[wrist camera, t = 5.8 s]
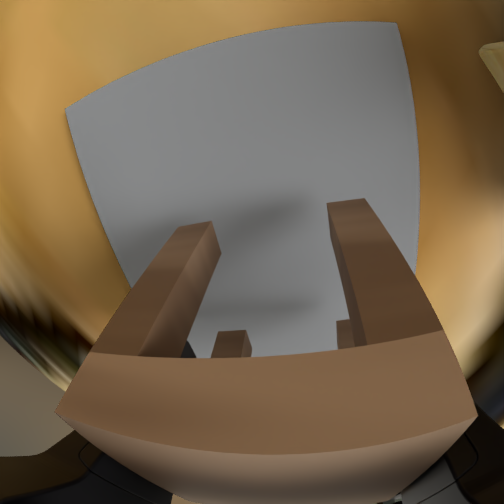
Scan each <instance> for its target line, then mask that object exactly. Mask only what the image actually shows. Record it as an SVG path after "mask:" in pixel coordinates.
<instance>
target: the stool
mask: <svg viewBox="0 0 504 504" xmlns="http://www.w3.org/2000/svg"><path fill="white" fill-rule="evenodd" d="M326 204H327V212H328V221H329V230H330V239H331V242H332V246H333V250H334V254H335V258H336V262H337V266H338V270H339V274H340V278H341V282H342V287H343V291H344V295H345V300H346V304H347V309H348V314H349V319H346V320H338V321H336V330H337V346H338V350H330V351H322V352H312V353H302V354H291V355H278V356H263V357H251V355H252V346H251V343H250V340H249V337H248V334H247V331H246V330H234V331H218V333H217V337H216V340H215V344H214V347H213V351H212V354H211V358H180V357H181V354H182V351H183V349H184V346H185V343H186V341H187V338H188V336H189V333H190V331H191V328H192V325H193V323H194V320H195V318H196V315H197V313H198V310H199V308H200V305H201V303H202V300H203V298H204V295H205V293H206V290H207V288H208V285H209V283H210V280H211V278H212V275H213V273H214V270H215V268H216V265H217V263H218V261H219V258H220V256H221V250H220V246H219V243H218V240H217V237H216V233H215V230H214V227H213V223H212V221H207V222H202V223H196V224H191V225H185V226H180V227H178V228H177V229H176V230H175V232H174V233H173V234H172V235H171V237H170V238H169V239H168V241H167V242H166V243H165V244H164V246H163V247H162V248H161V250H160V251H159V252H158V254H157V255H156V256H155V258H154V259H153V260H152V262H151V263H150V264H149V266H148V267H147V268H146V270H145V271H144V272H143V274H142V275H141V277H140V278H139V279H138V281H137V282H136V283H135V285H134V286H133V288H132V289H131V291H130V292H129V293H128V295H127V296H126V298H125V299H124V300H123V302H122V303H121V305H120V306H119V308H118V309H117V311H116V312H115V314H114V315H113V317H112V318H111V320H110V321H109V323H108V324H107V326H106V327H105V329H104V330H103V332H102V333H101V335H100V336H99V338H98V339H97V341H96V342H95V344H94V346H93V347H92V349H91V350H90V352H89V354H88V355H87V357H86V358H85V360H84V362H83V363H82V365H81V367H80V368H79V370H78V372H77V373H76V375H75V377H74V378H73V380H72V382H71V383H70V385H69V387H68V389H67V390H66V392H65V394H64V396H63V397H62V399H61V401H60V403H59V405H58V407H57V408H56V410H55V413H56V414H57V415H58V416H59V417H60V418H62V419H63V420H64V421H65V422H66V423H67V424H68V425H70V426H71V427H72V428H73V429H74V430H76V431H77V432H78V433H79V434H80V435H82V436H83V437H84V438H85V439H87V440H88V441H89V442H91V443H92V444H93V445H95V446H96V447H97V448H99V449H100V450H101V451H103V452H104V453H106V454H107V455H108V456H110V457H111V458H113V459H114V460H116V461H117V462H119V463H120V464H122V465H123V466H125V467H127V468H128V469H130V470H131V471H133V472H135V473H136V474H138V475H140V476H141V477H143V478H145V479H146V480H148V481H150V482H152V483H154V484H155V485H157V486H159V487H161V488H163V489H165V490H167V491H169V492H171V493H173V494H175V495H177V496H179V497H181V498H183V499H185V500H188V501H191V502H196V503H202V504H373V503H379V502H384V501H388V500H390V499H391V498H393V497H394V496H395V495H397V494H398V493H399V492H401V491H402V490H403V489H404V488H406V487H407V486H408V485H409V484H411V483H412V482H413V481H414V480H415V479H417V478H418V477H419V476H420V475H421V474H422V473H424V472H425V471H426V470H427V469H428V468H429V467H430V466H431V465H432V464H434V463H435V462H436V461H437V460H438V459H439V458H440V457H441V456H442V455H443V454H444V453H445V452H446V451H447V450H448V449H449V448H450V447H451V446H452V445H453V444H454V443H455V442H456V441H457V439H458V438H459V437H460V436H461V435H462V434H463V433H464V432H465V431H466V429H467V428H468V427H469V426H470V425H471V424H472V422H473V421H474V420H475V419H476V418H477V416H478V414H477V411H476V408H475V405H474V402H473V399H472V397H471V394H470V391H469V388H468V386H467V383H466V380H465V378H464V375H463V373H462V370H461V368H460V365H459V363H458V361H457V358H456V356H455V354H454V351H453V349H452V347H451V345H450V342H449V340H448V338H447V336H446V334H445V332H444V330H443V328H442V325H441V323H440V321H439V319H438V317H437V315H436V313H435V311H434V310H433V308H432V306H431V304H430V302H429V300H428V298H427V296H426V294H425V293H424V291H423V289H422V287H421V285H420V284H419V282H418V280H417V278H416V276H415V275H414V273H413V271H412V270H411V268H410V266H409V265H408V263H407V261H406V260H405V258H404V256H403V255H402V253H401V251H400V250H399V248H398V247H397V245H396V243H395V242H394V240H393V239H392V237H391V236H390V234H389V233H388V231H387V230H386V228H385V227H384V225H383V224H382V222H381V221H380V219H379V218H378V216H377V215H376V213H375V212H374V211H373V209H372V208H371V206H370V205H369V203H368V202H367V201H366V199H365V198H361V199H352V200H345V201H337V202H329V203H326Z"/></svg>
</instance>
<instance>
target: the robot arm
mask: <svg viewBox="0 0 504 504" xmlns="http://www.w3.org/2000/svg"><path fill="white" fill-rule="evenodd" d="M180 358H196V355H195V353H194V351H193V349H192V347H191V345H190V344H189V342H188V341H186V343H185V346H184V349H183V351H182V354H181V357H180ZM473 402H474V401H473ZM474 405H475V408H476V411H477V414H478V416H477V418H476V419H475V420H474V421H473V422H472V424H471V425H470V426H469V427H468V428H467V429H466V431H465V432H464V433H463V434H462V435H461V436H460V437H459V438H458V439H457V441H456V442H455V443H454V444H453V445H452V446H451V447H450V448H449V449H448V450H447V451H446V452H445V453H444V454H443V455H442V456H441V457H440V458H439V459H438V460H437V461H436V462H435V463H434V464H432V465H431V466H430V467H429V468H428V469H427V470H426V471H425V472H424V473H422V474H421V475H420V476H419V477H418V478H417V479H415V480H414V481H413V482H412V483H411V484H409V485H408V486H407V487H406V488H404V489H403V490H402V491H401V492H399V493H398V494H397V495H395V496H394V497H393V498H391V499H390V500H388V501H384V502H379V503H377V504H504V429H503V428H502V427H500V426H499V425H498V424H497V423H496V422H495V421H494V420H492V419H491V418H490V417H489V416H488V415H487V414H486V413H485V412H484V411H483V410H482V409H481V408H480V407H479V406H478V405H477V404H476V403H475V402H474ZM172 495H173V493H171V492H169V491H167V490H165V489H163V488H161V487H159V486H157V485H155V484H154V483H152V482H150V481H148V480H146V479H145V478H143V477H141V476H140V475H138V474H136V473H135V472H133V471H131V470H130V469H128V468H127V467H125V466H123V465H122V464H120V463H119V462H117V461H116V460H114V459H113V458H111V457H110V456H108V455H107V454H106V453H104V452H103V451H101V450H100V449H99V448H97V447H96V446H95V445H93V444H92V443H91V442H89V441H88V440H87V439H85V438H84V437H83V436H82V435H80V434H79V433H78V432H77V431H76V430H74V431H72V432H71V433H70V434H69V435H67V436H66V437H64V438H63V439H62V440H60V441H59V442H57V443H56V444H55V445H54V446H52V447H51V448H49V449H48V450H46V451H45V452H42V453H40V454H38V455H32V456H14V457H0V504H171V500H172ZM399 498H402V501H398V502H395V500H396V499H399Z"/></svg>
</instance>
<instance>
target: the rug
mask: <svg viewBox="0 0 504 504" xmlns="http://www.w3.org/2000/svg"><path fill="white" fill-rule="evenodd" d="M65 112H66V116H67V120H68V124H69V128H70V131H71V135H72V139H73V142H74V145H75V149H76V152H77V155H78V159H79V162H80V165H81V168H82V171H83V174H84V177H85V180H86V183H87V186H88V189H89V191H90V194H91V197H92V200H93V202H94V205H95V208H96V210H97V213H98V215H99V218H100V220H101V223H102V225H103V228H104V230H105V232H106V235H107V237H108V239H109V242H110V244H111V246H112V249H113V251H114V253H115V255H116V257H117V260H118V262H119V264H120V266H121V268H122V270H123V272H124V274H125V277H126V279H127V281H128V283H129V285H130V287H131V289H132V288H133V286H134V285H135V283H136V282H137V281H138V279H139V278H140V277H141V275H142V274H143V272H144V271H145V270H146V268H147V267H148V266H149V264H150V263H151V262H152V260H153V259H154V258H155V256H156V255H157V254H158V252H159V251H160V250H161V248H162V247H163V246H164V244H165V243H166V242H167V241H168V239H169V238H170V237H171V235H172V234H173V233H174V232H175V230H176V229H177V228H178V227H180V226H185V225H191V224H196V223H202V222H207V221H212V223H213V227H214V230H215V233H216V237H217V240H218V243H219V246H220V250H221V256H220V258H219V261H218V263H217V265H216V268H215V270H214V273H213V275H212V278H211V280H210V283H209V285H208V288H207V290H206V293H205V295H204V298H203V300H202V303H201V305H200V308H199V310H198V313H197V315H196V318H195V320H194V323H193V325H192V328H191V331H190V333H189V336H188V338H187V341H188V342H189V344H190V345H191V347H192V349H193V351H194V353H195V355H196V358H211V354H212V351H213V347H214V344H215V340H216V337H217V333H218V331H234V330H246V331H247V334H248V337H249V340H250V343H251V346H252V355H251V357H263V356H278V355H291V354H302V353H312V352H322V351H330V350H338V346H337V330H336V321H338V320H346V319H349V314H348V309H347V304H346V300H345V295H344V291H343V287H342V282H341V278H340V274H339V270H338V266H337V262H336V258H335V254H334V250H333V246H332V242H331V239H330V230H329V221H328V212H327V204H326V203H329V202H337V201H345V200H352V199H361V198H365V199H366V201H367V202H368V203H369V205H370V206H371V208H372V209H373V211H374V212H375V213H376V215H377V216H378V218H379V219H380V221H381V222H382V224H383V225H384V227H385V228H386V230H387V231H388V233H389V234H390V236H391V237H392V239H393V240H394V242H395V243H396V245H397V247H398V248H399V250H400V251H401V253H402V255H403V256H404V258H405V260H406V261H407V263H408V265H409V266H410V268H411V270H412V271H413V273H414V275H415V271H416V261H417V250H418V236H419V215H420V172H419V151H418V137H417V127H416V117H415V109H414V102H413V95H412V89H411V83H410V77H409V72H408V67H407V62H406V58H405V53H404V49H403V45H402V41H401V37H400V33H399V30H398V26H397V23H394V22H369V21H354V22H329V23H316V24H306V25H297V26H289V27H282V28H276V29H270V30H265V31H259V32H254V33H250V34H245V35H241V36H236V37H232V38H228V39H224V40H221V41H217V42H213V43H210V44H207V45H203V46H200V47H197V48H194V49H191V50H188V51H185V52H182V53H179V54H176V55H173V56H171V57H168V58H165V59H163V60H160V61H158V62H155V63H153V64H150V65H148V66H146V67H143V68H141V69H139V70H136V71H134V72H132V73H130V74H128V75H126V76H123V77H121V78H119V79H117V80H115V81H113V82H111V83H109V84H107V85H106V86H104V87H102V88H100V89H98V90H96V91H94V92H93V93H91V94H89V95H87V96H86V97H84V98H82V99H80V100H79V101H77V102H75V103H74V104H72V105H71V106H69V107H67V108H66V109H65Z"/></svg>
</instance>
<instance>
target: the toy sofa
mask: <svg viewBox="0 0 504 504" xmlns="http://www.w3.org/2000/svg"><path fill="white" fill-rule="evenodd" d="M479 55H480V57H481V59H482V60H483V62H484V63H485V65H486V66H487V68H488V69H489V71H490V72H491V74H492V75H493V77H494V79H495V80H496V82H497V84H498V85H499V87H500V89H501V90H502V92H503V94H504V42H496V43H491V44H486V45H484V46H482V47H481V48H480V50H479Z"/></svg>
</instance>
